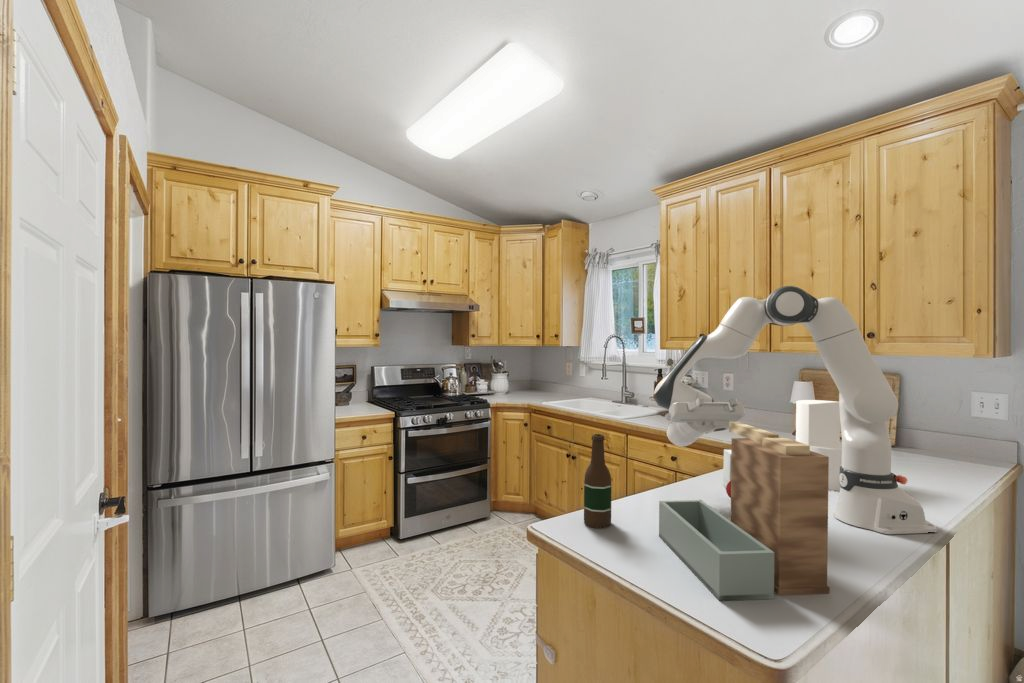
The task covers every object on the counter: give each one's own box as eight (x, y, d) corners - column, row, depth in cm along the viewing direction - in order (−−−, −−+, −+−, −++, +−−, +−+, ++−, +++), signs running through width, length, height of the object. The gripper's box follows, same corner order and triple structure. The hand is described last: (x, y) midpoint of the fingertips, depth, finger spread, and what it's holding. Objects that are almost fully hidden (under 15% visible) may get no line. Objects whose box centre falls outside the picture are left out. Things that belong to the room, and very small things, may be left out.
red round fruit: (749, 506, 145) (749, 479, 145) (728, 504, 146) (728, 478, 146) (743, 499, 150) (744, 474, 150) (724, 498, 152) (724, 473, 151)
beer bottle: (605, 531, 125) (606, 439, 125) (578, 525, 129) (578, 435, 129) (616, 521, 132) (616, 434, 131) (589, 516, 136) (590, 431, 136)
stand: (728, 552, 113) (729, 437, 113) (771, 551, 114) (772, 437, 113) (778, 595, 94) (780, 457, 94) (829, 593, 95) (831, 457, 95)
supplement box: (729, 492, 157) (729, 453, 157) (722, 485, 165) (723, 448, 165) (753, 493, 156) (753, 454, 156) (745, 486, 164) (746, 449, 164)
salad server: (724, 431, 121) (724, 421, 121) (743, 431, 121) (743, 421, 121) (786, 454, 97) (786, 442, 97) (809, 454, 97) (809, 442, 97)
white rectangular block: (784, 479, 173) (785, 401, 172) (815, 473, 180) (816, 398, 180) (833, 493, 157) (835, 407, 157) (865, 487, 164) (866, 405, 164)
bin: (658, 536, 122) (659, 500, 122) (700, 535, 123) (701, 500, 123) (719, 600, 92) (719, 554, 92) (773, 598, 93) (774, 552, 93)
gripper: (660, 409, 141) (678, 390, 129) (727, 409, 143) (751, 390, 131) (664, 429, 138) (682, 412, 126) (732, 429, 140) (757, 412, 128)
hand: (718, 401), depth 128 cm, fingers open, 8 cm apart
